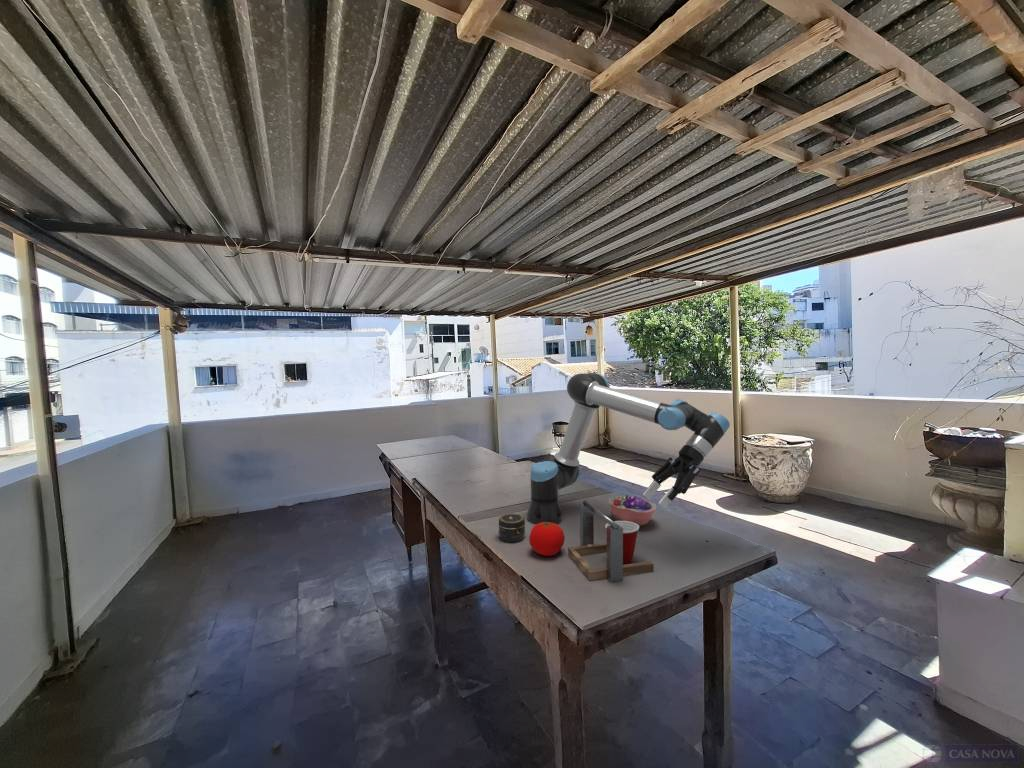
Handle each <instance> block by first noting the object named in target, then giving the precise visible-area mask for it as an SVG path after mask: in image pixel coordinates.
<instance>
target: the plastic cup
mask: <svg viewBox="0 0 1024 768" xmlns="http://www.w3.org/2000/svg"><path fill="white" fill-rule="evenodd" d="M613 521H614V520H613ZM614 522H615V523H617V524H618V525H620V526H621V527H622V528H623V565H626V564H633V563H632V562H633V559H634V553H635V547H636V542H637V537H638V532H639V529H640V526H639V525H637V524H636V523H633V522H629V521H619V520H615V521H614ZM607 526H610V525H609V524H608V523H607V522H606V524H605V527H604V528H605V529H606V530H607Z"/></svg>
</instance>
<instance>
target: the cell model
mask: <svg viewBox="0 0 1024 768" xmlns="http://www.w3.org/2000/svg"><path fill="white" fill-rule="evenodd" d="M608 500H609V502H608V503H609V505H610V506H609V507H610V514H612V516H613V517H614V518H615V519H616V521H629V522H633V523H636V524H637V525H639V527H641V526H645V525H647V524H648V523H649V522H650V520H651V519H653V517H654V515H655V511H657V510H656V509H657V505H656V503H654V502H653V501H651V500H648V499H647V498H646V499H645V498H642V497H637V496H636V495H634V496H628V494H625V496H622V495H621V496H619V495H618V496H615V497H612V498H609V499H608Z"/></svg>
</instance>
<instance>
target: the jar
mask: <svg viewBox="0 0 1024 768" xmlns="http://www.w3.org/2000/svg"><path fill="white" fill-rule="evenodd" d="M525 520H526V519H525V516H523V515H522V514H517V513H507V514H506V513H505V514H502V515H501V516H499V518H498V534H499V538H500V539H501V541H503V542H505V543H511V544H513V543H514V544H515V543H518V542H521V541H522V540H523V539H524V537H525V534H526V533H525V532H526V530H525V529H526V527H525V525H526V521H525Z"/></svg>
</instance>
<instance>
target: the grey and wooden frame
mask: <svg viewBox="0 0 1024 768" xmlns="http://www.w3.org/2000/svg"><path fill="white" fill-rule="evenodd" d="M582 502H583V503H581V504H579V537H580V538H579V541H580V542H579V546H570V547H568V548H567V555H568V557H569V558H570V559H571V560H572V561H573V563H574V564H575V565H576V567H578V569H579V570H580V571H581V572H582V573H583V575H584V576H585V577H586V578H587V580H588V581H589V582H590V581H598V580H599V581H600V580H605V579H606V580H608V581H609V582H610V584H612V583H619V582H623V581H624V576H631V575H637V574H639V575H640V574H645V573H653V572H654V571H655V567H654V566H655V563H654V562H653V561H652V560H649V561H641V562H635V563H631V564H626V565H623V528H622V527H621V526H620V525H618V524H617V523H615V522H614V520H613V519H611V518H610V517H609V516H608V515H606V514H605V513H604V512H602V511H601V510H600V509H598V508H597V507H596V506H595V505H593V504H592V503H591V502H589V501H587V500H583V501H582ZM594 514H595V515H597V516H598V518H600V519H601V520H603V521H604V522H605V523H606V524H607V523H608V524H609V525H610V526H607V529H606V542H604V543H595V542H594V540H595V539H594V538H595V537H594V532H595V531H594V530H595V527H594ZM602 553H606V567H605V566H604V567H599V568H598V567H597V568H592V567H591V566H590V565H589V564H588V563H587V561H586V560H585V559H584V558H583V557H582V556H586V555H593V554H594V555H595V554H602Z"/></svg>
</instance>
